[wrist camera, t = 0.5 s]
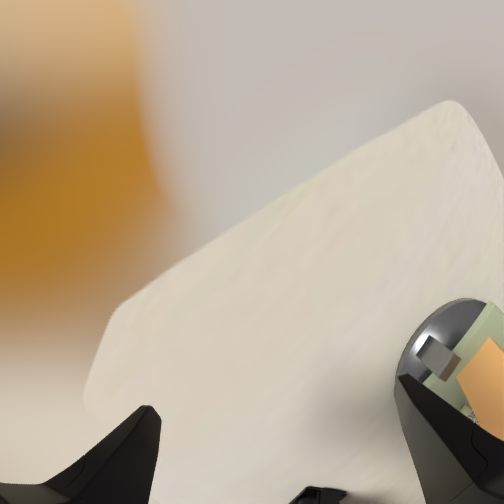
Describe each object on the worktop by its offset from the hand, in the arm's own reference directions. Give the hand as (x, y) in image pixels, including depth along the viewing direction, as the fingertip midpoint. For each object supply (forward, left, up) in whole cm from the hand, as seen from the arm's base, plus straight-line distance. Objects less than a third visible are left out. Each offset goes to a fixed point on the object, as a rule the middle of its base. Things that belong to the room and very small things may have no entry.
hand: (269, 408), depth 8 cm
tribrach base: (0, -21, -17) cm, 27 cm away
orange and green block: (0, -21, -13) cm, 25 cm away
